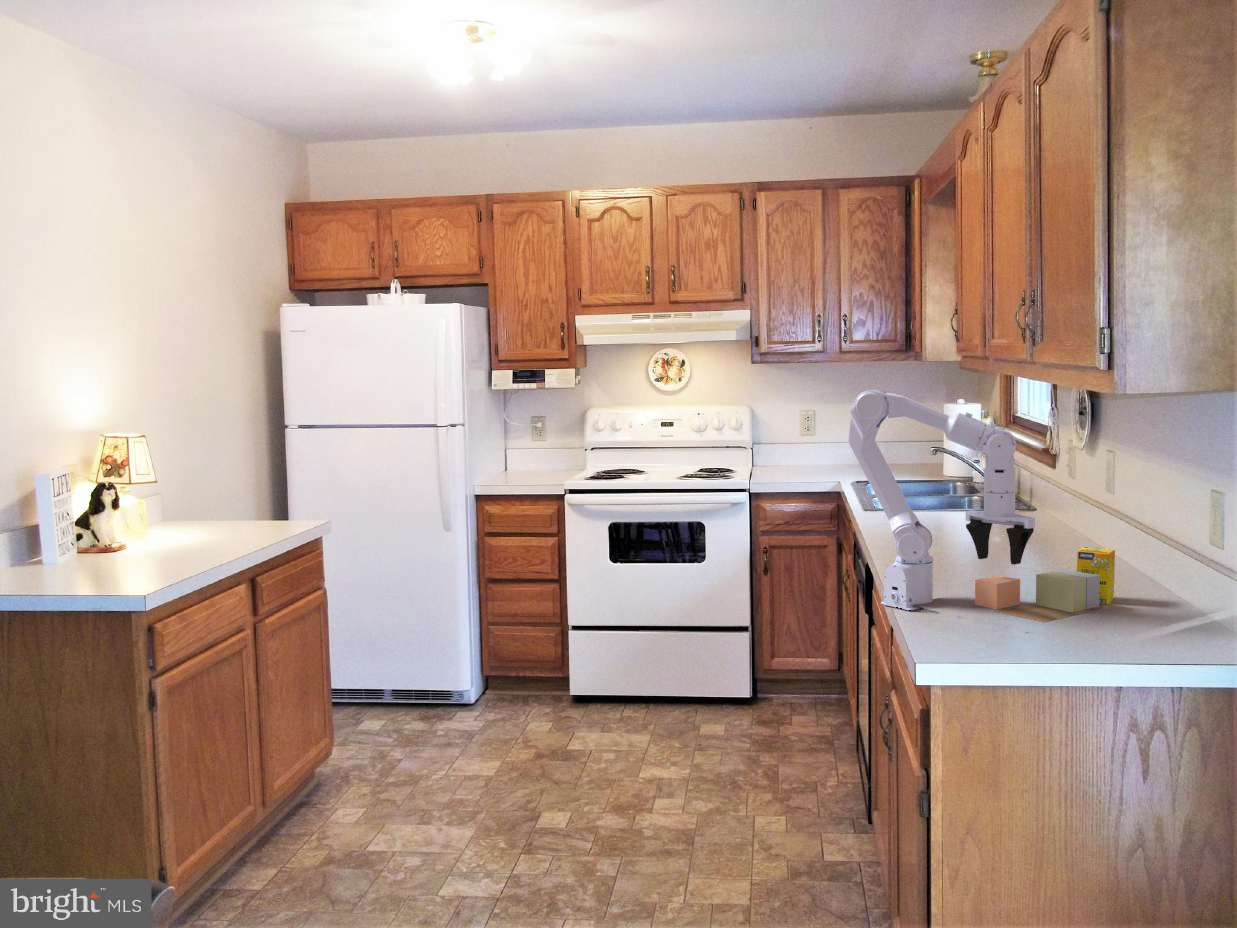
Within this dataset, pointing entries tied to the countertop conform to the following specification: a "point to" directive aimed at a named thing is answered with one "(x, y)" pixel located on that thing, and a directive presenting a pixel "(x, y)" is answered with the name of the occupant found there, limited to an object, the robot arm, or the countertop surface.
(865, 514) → the countertop surface
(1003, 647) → the countertop surface
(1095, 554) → the supplement box
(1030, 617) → the walnut board
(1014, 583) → the terracotta block
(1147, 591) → the countertop surface
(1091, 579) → the slate book
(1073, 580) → the olive book
